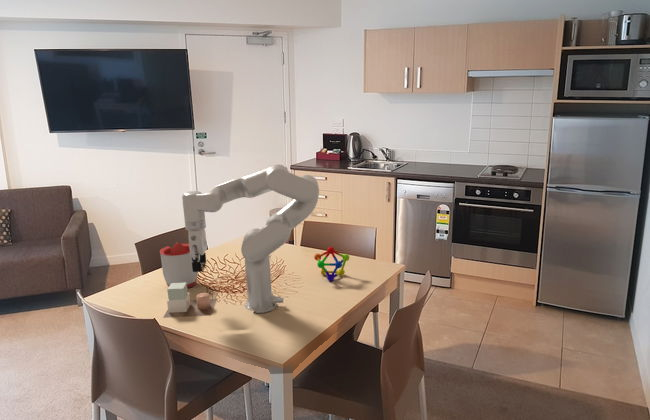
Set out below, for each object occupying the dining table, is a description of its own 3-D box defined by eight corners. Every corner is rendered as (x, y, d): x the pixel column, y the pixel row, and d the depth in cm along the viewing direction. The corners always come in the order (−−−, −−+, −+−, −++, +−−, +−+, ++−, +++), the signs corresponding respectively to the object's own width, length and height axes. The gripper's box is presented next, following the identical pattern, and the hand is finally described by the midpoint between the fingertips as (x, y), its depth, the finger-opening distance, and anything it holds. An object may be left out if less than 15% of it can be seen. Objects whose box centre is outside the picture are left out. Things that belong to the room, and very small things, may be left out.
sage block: (187, 293, 207) (186, 282, 206) (184, 299, 201) (183, 288, 200) (172, 293, 207) (171, 283, 206) (168, 300, 201) (167, 289, 200)
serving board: (217, 301, 213) (217, 298, 213) (211, 318, 199) (210, 315, 199) (173, 303, 213) (172, 300, 213) (163, 320, 198) (163, 317, 198)
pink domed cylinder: (211, 304, 208) (210, 292, 207) (209, 309, 203) (208, 297, 202) (198, 304, 208) (197, 293, 207) (196, 310, 203) (195, 298, 202)
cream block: (190, 304, 209) (189, 292, 208) (186, 311, 202) (185, 299, 201) (172, 304, 209) (171, 293, 208) (168, 312, 202) (166, 300, 201)
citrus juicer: (195, 275, 243) (191, 233, 238) (203, 287, 228) (199, 244, 223) (160, 281, 237) (155, 239, 232) (167, 295, 221) (161, 250, 216)
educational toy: (318, 287, 227) (313, 254, 223) (317, 276, 239) (312, 245, 236) (353, 282, 227) (349, 249, 223) (350, 271, 240) (346, 240, 236)
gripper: (201, 230, 189) (205, 274, 193) (209, 217, 206) (213, 258, 210) (180, 231, 189) (184, 275, 193) (190, 218, 206) (194, 259, 210)
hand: (199, 267), depth 202 cm, fingers open, 9 cm apart
